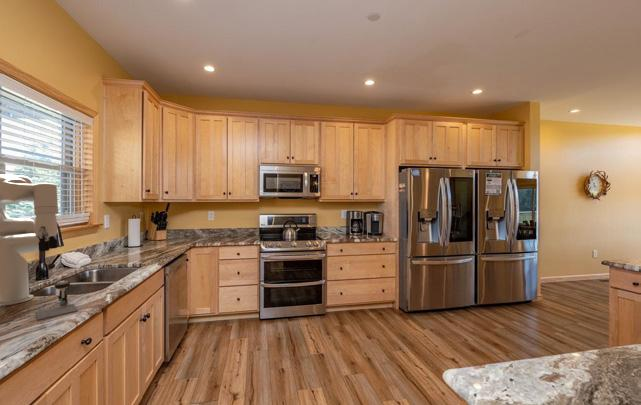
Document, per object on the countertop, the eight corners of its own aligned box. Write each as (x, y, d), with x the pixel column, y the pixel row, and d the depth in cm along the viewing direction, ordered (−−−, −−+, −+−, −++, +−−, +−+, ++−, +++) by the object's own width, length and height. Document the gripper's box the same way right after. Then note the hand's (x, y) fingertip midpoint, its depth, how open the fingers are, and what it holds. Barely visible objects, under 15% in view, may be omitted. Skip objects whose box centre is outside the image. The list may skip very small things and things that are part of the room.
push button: (71, 303, 127) (70, 281, 127) (55, 307, 123) (54, 284, 123) (70, 300, 132) (69, 279, 132) (54, 303, 128) (53, 281, 128)
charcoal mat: (35, 313, 117) (35, 311, 117) (73, 304, 126) (73, 303, 126) (37, 320, 109) (37, 319, 109) (77, 311, 118) (77, 310, 118)
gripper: (42, 211, 130) (44, 248, 130) (26, 211, 115) (28, 253, 114) (63, 210, 133) (65, 246, 133) (50, 210, 118) (52, 250, 118)
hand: (48, 249), depth 124 cm, fingers open, 9 cm apart
